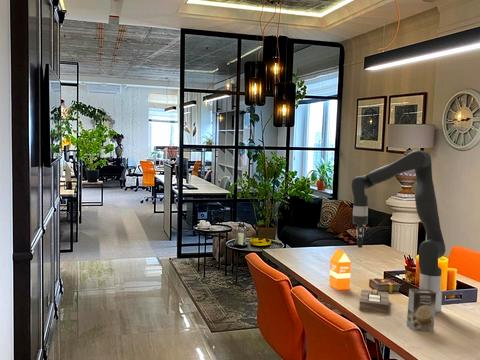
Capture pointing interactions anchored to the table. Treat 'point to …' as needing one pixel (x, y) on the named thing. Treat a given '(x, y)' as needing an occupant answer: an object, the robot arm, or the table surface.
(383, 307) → the pocket block
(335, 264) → the orange juice
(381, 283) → the decorative book
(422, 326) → the coffee box
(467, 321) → the table surface
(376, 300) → the tile
